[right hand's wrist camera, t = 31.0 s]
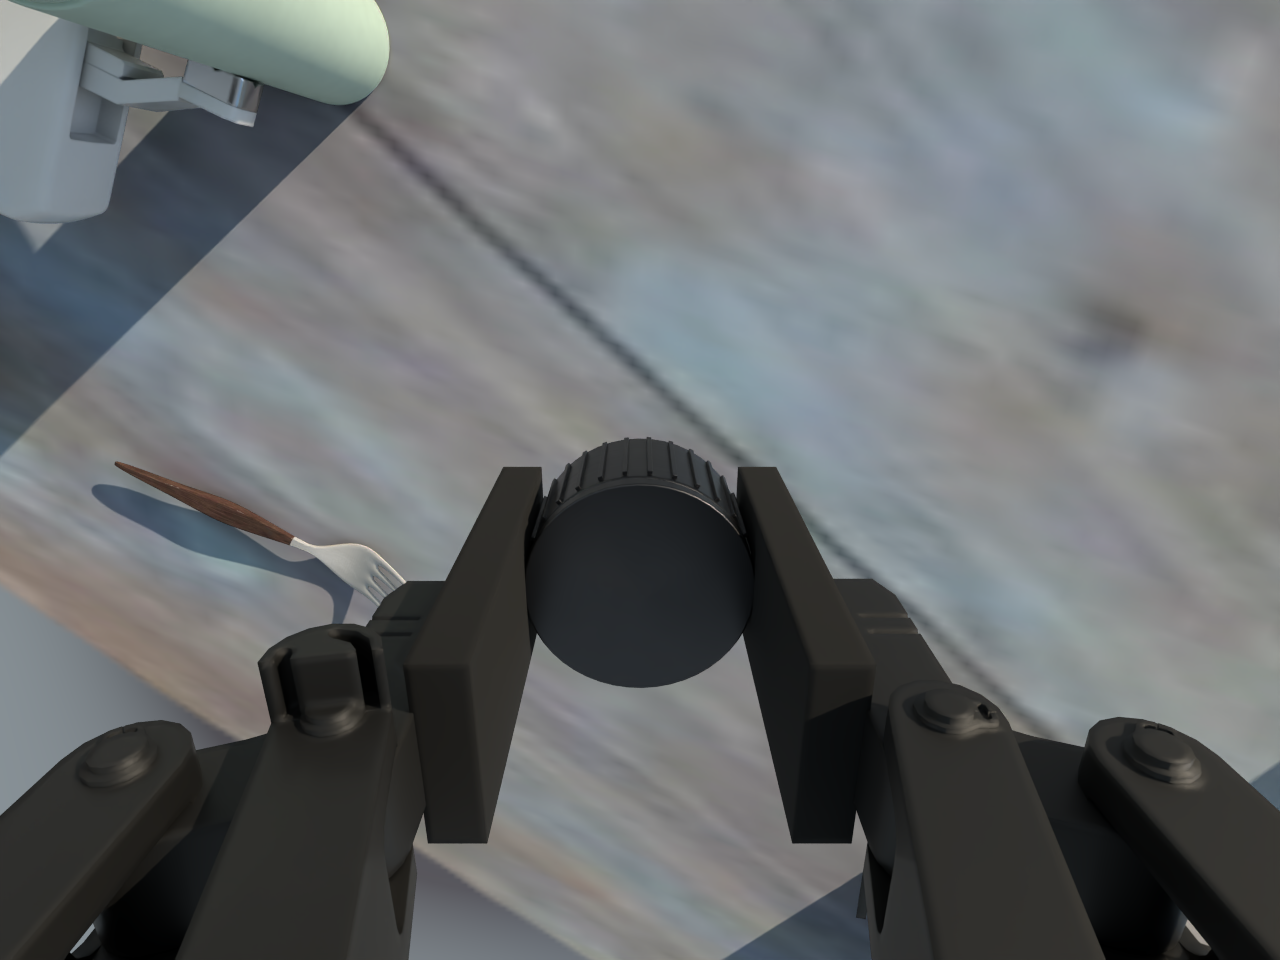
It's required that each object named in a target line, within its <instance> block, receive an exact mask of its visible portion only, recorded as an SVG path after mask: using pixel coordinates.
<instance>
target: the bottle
mask: <svg viewBox="0 0 1280 960" xmlns="http://www.w3.org/2000/svg"><path fill="white" fill-rule="evenodd" d="M8 1H11V2H13V3H16V4H18V5H21V6H24V7H27V8H30V9H33V10H36V11H39V12H42V13H46V14H49V15H52V16H55V17H58V18H61V19H64V20H67V21H70V22H74V23H77V24H80V25H83V26H86V27H89V28H92V29H95V30H98V31H102V32H105V33H108V34H111V35H114V36H117V37H120V38H123V39H126V40H130V41H133V42H136V43H139V44H142V45H145V46H148V47H151V48H154V49H158V50H161V51H164V52H167V53H170V54H173V55H176V56H179V57H182V58H186V59H189V60H192V61H195V62H198V63H201V64H204V65H207V66H210V67H214V68H217V69H220V70H223V71H226V72H229V73H233V74H236V75H239V76H242V77H245V78H248V79H251V80H254V81H257V82H260V83H263V84H266V85H270V86H273V87H276V88H279V89H282V90H285V91H288V92H291V93H294V94H298V95H301V96H304V97H307V98H310V99H313V100H316V101H319V102H322V103H327V104H331V105H346V104H351V103H354V102H357V101H360V100H361V99H363V98H365V97H366V96H368V95H369V94H370V93H371V92H372V91H373V90H374V89H375V88H376V87H377V86H378V84H379V83H380V81H381V79H382V77H383V75H384V73H385V70H386V68H387V64H388V59H389V37H388V31H387V27H386V23H385V21H384V18H383V15H382V13H381V11H380V9H379V7H378V6H377V4H376V2H375V1H374V0H8Z"/></svg>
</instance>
